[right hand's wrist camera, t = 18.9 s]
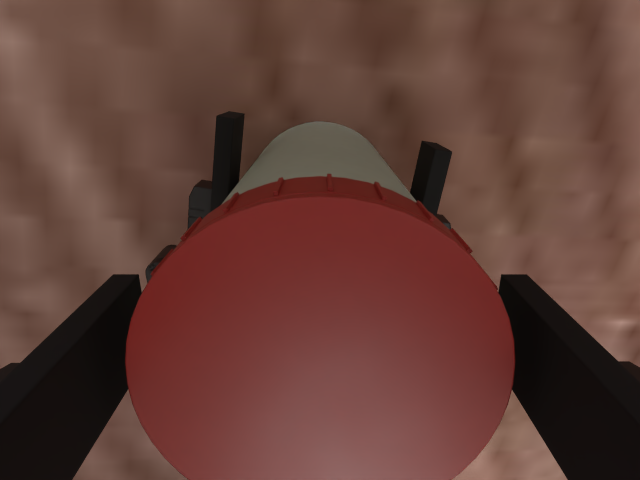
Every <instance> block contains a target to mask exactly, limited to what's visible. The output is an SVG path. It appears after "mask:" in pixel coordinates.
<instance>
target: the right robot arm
mask: <svg viewBox="0 0 640 480" xmlns="http://www.w3.org/2000/svg"><path fill="white" fill-rule="evenodd" d="M141 294H142V293H141V286H140V280H139V275H112V276H111V277H110V278H109V279H108V280H107V281H106V282H105V283H104V284H103V285H102V286H101V287H100V288H99V289H98V290H96V291H95V292H94V293H93V294H92V295H91V296H90V297H89V298H88V299H87V300H86V301H85V302H84V303H83V304H82V305H81V306H80V307H79V308H78V309H76V310H75V311H74V312H73V313H72V314H71V315H70V316H69V317H68V318H67V319H66V320H65V321H64V322H63V323H62V324H61V325H60V326H59V327H58V328H57V329H55V330H54V331H53V332H52V333H51V334H50V335H49V336H48V337H47V338H46V339H45V340H44V341H43V342H42V343H41V344H40V345H39V346H38V347H37V348H35V349H34V350H33V351H32V352H31V353H30V354H29V355H28V356H27V357H26V358H25V359H24V360H23V361H22V362H21V363H10V364H9V365H7V366H5V367H3V368H2V369H0V480H72V479H73V478H74V476H75V474H76V473H77V471H78V469H79V468H80V466H81V465H82V463H83V461H84V460H85V458H86V456H87V455H88V453H89V452H90V450H91V448H92V447H93V445H94V443H95V442H96V440H97V439H98V437H99V435H100V434H101V432H102V430H103V429H104V427H105V426H106V424H107V422H108V421H109V419H110V418H111V416H112V414H113V413H114V411H115V409H116V408H117V406H118V405H119V403H120V401H121V400H122V398H123V396H124V395H125V393H126V392H127V390H128V385H127V376H126V367H125V356H126V340H127V335H128V331H129V326H130V321H131V318H132V315H133V313H134V310H135V307H136V305H137V302H138V300H139V297H140V296H141ZM499 295H500V296H501V299H502V301H503V304H504V306H505V309H506V311H507V314H508V316H509V319H510V324H511V328H512V333H513V338H514V347H515V371H514V380H513V386H512V390H513V392H514V393H515V395H516V396H517V398H518V400H519V401H520V403H521V405H522V406H523V408H524V409H525V411H526V413H527V414H528V416H529V418H530V419H531V421H532V422H533V424H534V426H535V427H536V429H537V430H538V432H539V434H540V435H541V437H542V439H543V440H544V442H545V443H546V445H547V447H548V448H549V450H550V452H551V453H552V455H553V456H554V458H555V460H556V461H557V463H558V465H559V466H560V468H561V469H562V471H563V473H564V474H565V476H566V478H567V479H568V480H640V367H638V366H636V365H634V364H633V363H631V362H618V361H617V360H616V359H615V358H614V357H613V356H612V355H611V354H610V353H609V352H608V351H607V350H606V349H605V348H603V347H602V346H601V345H600V344H599V343H598V342H597V341H596V340H595V339H594V338H593V337H592V336H591V335H590V334H589V333H588V332H587V331H586V330H585V329H583V328H582V327H581V326H580V325H579V324H578V323H577V322H576V321H575V320H574V319H573V318H572V317H571V316H570V315H569V314H568V313H567V312H566V311H565V310H564V309H562V308H561V307H560V306H559V305H558V304H557V303H556V302H555V301H554V300H553V299H552V298H551V297H550V296H549V295H548V294H547V293H546V292H545V291H544V290H542V289H541V288H540V287H539V286H538V285H537V284H536V283H535V282H534V281H533V280H532V279H531V278H530V277H529V276H528V275H501V280H500V286H499Z"/></svg>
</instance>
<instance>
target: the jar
mask: <svg viewBox="0 0 640 480" xmlns="http://www.w3.org/2000/svg"><path fill="white" fill-rule="evenodd" d="M327 174H332V177H342V178H349V179H354V180H359V181H364V182H369V183H372V184H374V182H375V181H376V182H379V184H380V186H381V187H384V188H387V189H390V190H393V191H395V192H397V193H399V194H401V195H403V196H405V197H407V198H409V199H411V200H413V201H414V202H417V201H416V200H415V199H414V198H413V196H412V195H411V194H410V192H409V191H408V190H407V189H406V187H405V186H404V185H403V184H402V182H401V181H400V180H399V178H398V177H397V176H396V175H395V173H394V172H393V171H392V169H391V168H390V167H389V166H388V164H387V163H386V162H385V161H384V159H383V158H382V157H381V155H380V154H379V153H378V152H377V150H376V149H375V148H374V146H373V145H372V144H371V143H370V142H369V141H368V140H367V139H366V138H364V137H363V136H362V135H361V134H359V133H358V132H356V131H354V130H352V129H350V128H348V127H346V126H343V125H340V124H336V123H331V122H309V123H304V124H300V125H297V126H294V127H292V128H290V129H288V130H286V131H284V132H283V133H281V134H280V135H278V136H277V137H276V138H275V139H273V140H272V141H271V142H270V143H269V145H268V146H267V147H266V148H265V149H264V150H263V152H262V153H261V154H260V156H259V157H258V158H257V159H256V161H255V162H254V163H253V165H252V166H251V167H250V168H249V170H248V171H247V172H246V174H245V175H244V176H243V177H242V179H241V180H240V181H239V183H238V184H237V185H236V186H235V188H234V189H233V190H232V192H231V193H230V194H229V195H228V197H227V198H226V199H225V200H224V202H223V203H225V202H226V201H228V200H230V199H231V197H232V196H233V195H234V193H237V192H238V193H239V195H240V194H242V193H244V192H246V191H248V190H251V189H253V188H256V187H259V186H262V185H265V184H268V183H271V182H276V181H278V179H279V178H281V177H283V179H284V180H286V179H291V178H298V177H314V176H327ZM223 203H222V204H223ZM222 204H221V205H222Z"/></svg>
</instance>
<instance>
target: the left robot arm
mask: <svg viewBox="0 0 640 480" xmlns="http://www.w3.org/2000/svg"><path fill="white" fill-rule="evenodd" d="M244 115H245V114H243V113H237V112H230V111H228V112H226V113H223V114H220V115H218V116H217V117H216V132H215V148H214V163H213V178H212V181H206V180H201V181H200V182H199V183H198V184H196V185H195V186H194V188H193V190H192V192H191V194H190V196H189V213H188V215H189V217H188V229H189V228H190V227H191V226H192V224H193V223H194V222H195V221H196V220H197V219H198V218H199V217H201V218H202V219H203V218H204V217H205V216H206V215H207V214H209V213H210V212H211V211H213V210H214V209H216V208H217V207H219V206H220V205H221V204H222V203H223V202H224V200H225V199H226V198H227V197H228V195H229V194H230V193H231V192H232V190H233V189H234V188H235V186H236V185H237V184H238V183H239V173H240V161H241V150H242V138H243V126H244ZM451 155H452V151H450V150H448V149H446V148H445V147H443V146H441V145H439V144H437V143H433V142H426V141H422V142H421V147H420V151H419V156H418V160H417V164H416V169H415V173H414V178H413V182H412V187H411V191H410V194H411V195H412V196H413V198H414V199H415V200H416V201H417V200H418V201H420V202H421V203H422V204H423V205H424V206H425V208H426V209H427V210H428V211H429V212H430V213H432V214H433V215H434V216H435V217H436V218H437V219H439V220H440V221H441V222H442V223H443V224H444V225H445V226H446V227H447V228H448V229H449V230H450V229H451V225H450V223H449V222H448V220H447V219H446V218H445V217H444V216H443V215H439V214H437V210H438V206H439V203H440V199H441V195H442V191H443V187H444V183H445V179H446V175H447V171H448V167H449V163H450V159H451ZM176 247H177V246H176V245H169V246H166V247H165V248H164V249H163V250H162V251H161V252H160V253H159V254H158V256H157V257H156V258H155V259H154V260H153V261H152V262H151V263H150V264H149V265H148V267H147V269H146V278H147V283H148V282H149V280H150V279H151V277H152V275H150V274H151V273H152V271H153V270H154V269H155V268H156V266H157V265H158V264H159V263H160V262H161V261H162V260H163V258H164V257H165V256H166V255H167V254H168V253H169V251H170V250H171V249H173V250H174V249H175V248H176Z"/></svg>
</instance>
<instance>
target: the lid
mask: <svg viewBox="0 0 640 480" xmlns="http://www.w3.org/2000/svg"><path fill="white" fill-rule="evenodd" d="M181 239H182V241H181V242H180V243H179V244H178V246H177V247H176V248H175V249H174V250H173V249H171V250H170V251H169V253H168V254H167V255H166V256H165V257H164V258H163V260H162V261H161V262H160V263H159V264H158V265H157V266H156V268H155V269H154V270H153V271H152V273H151V274H150V275H152V277H151V279H150V280H149V282H148V284H147V285H146V287H145V289H144V290H143V292H142V294H141V296H140V297H139V300H138V302H137V305H136V307H135V310H134V313H133V315H132V318H131V321H130V326H129V331H128V335H127V340H126V356H125V367H126V376H127V385H128V389H129V392H130V396H131V400H132V404H133V407H134V409H135V411H136V414H137V416H138V418H139V421H140V423H141V425H142V426H143V428H144V430H145V431H146V433H147V435H148V436H149V438H150V440H151V441H152V443H153V444H154V445H155V446H156V448H157V449H158V450H159V451H160V453H161V454H162V455H163V456H164V458H165V459H166V460H167V461H168V462H169V463H170V464H171V465H172V466H173V467H174V468H176V469H177V470H178V471H179V472H180V473H181V474H182V475H183V476H185V477H186V478H187V479H189V480H452V479H453V478H454V477H456V476H457V475H458V474H460V473H461V472H462V471H463V470H464V469H465V468H466V467H467V466H468V465H469V464H470V463H471V462H472V461H473V460H474V459H475V458H476V457H477V456H478V454H479V453H480V452H481V451H482V449H483V448H484V447H485V446H486V444H487V443H488V442H489V440H490V439H491V437H492V435H493V434H494V432H495V430H496V429H497V427H498V426H499V424H500V422H501V419H502V417H503V415H504V412H505V410H506V408H507V405H508V402H509V398H510V394H511V390H512V386H513V380H514V371H515V347H514V338H513V333H512V328H511V324H510V319H509V316H508V314H507V311H506V309H505V306H504V304H503V301H502V299H501V296H500V295H499V293H498V291H497V290H498V288H497V286H496V285H495V284H494V283H493V281H492V280H491V279H490V278H489V276H488V275H487V274H486V273H485V271H484V270H483V269H482V268H481V266H480V265H479V264H478V263H477V262H476V260H475V259H474V258H473V257H472V256H471V254H470V253H471V252H472V250H471V248H470V247H469V246H468V245H467V244H466V243H465V242H464V241H463V239H462V238H461V237H460V236H459V235H458V234H457V233H456V232H455V230H454V229H453V228H452V229H450V230H449V229H448V228H447V227H446V226H445V225H444V224H443V223H442V222H441V221H440V220H439V219H437V218H436V217H435V216H434V215H433V214H432V213H430V212H429V211H428V210H427V209H426V208H425V206H424V205H423V204H422V203H421V202H420V201H418V200H417V202H414V201H413V200H411V199H409V198H407V197H405V196H403V195H401V194H399V193H397V192H395V191H393V190H390V189H387V188H384V187H381V186H380V184H379V182H376V181H375V182H374V184H372V183H369V182H364V181H359V180H354V179H349V178H342V177H332V174H327V176H314V177H298V178H291V179H286V180H284V179H283V177H281V178H279V179H278V181H276V182H271V183H268V184H265V185H262V186H259V187H256V188H253V189H251V190H248V191H246V192H244V193H242V194H240V195H239V193H238V192H237V193H234V195H233V196H232V197H231V199H230V200H228V201H226V202H225V203H223V204H222V205H220V206H219V207H217V208H216V209H214V210H213V211H211V212H210V213H209V214H207V215H206V216H205V217H204V218H203V219H202V218H201V217H199V218H198V219H197V220H196V221H195V222H194V223H193V224H192V226H191V227H190V228H189V229H188V230H187V231H186V232H185V234H184V235H183V236H182V237H181Z"/></svg>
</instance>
